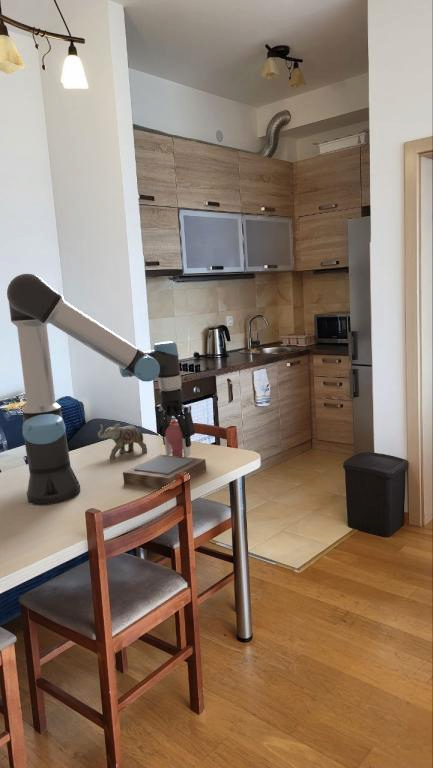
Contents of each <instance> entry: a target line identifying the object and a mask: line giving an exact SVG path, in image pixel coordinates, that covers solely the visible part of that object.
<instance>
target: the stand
mask: <svg viewBox="0 0 433 768" xmlns="http://www.w3.org/2000/svg"><path fill="white" fill-rule="evenodd" d="M206 471H207V463H206V459H205V458H197V457H190V456H187V457H184V456H182V457H180V456H172V455H171V454H170V455H166V454H158V455H155V456H154V457H152V458H150V459H148V460H146V461H144V462H141V463H139V464H137V465H135V466H132V467H131V468H129V469H126V470H124V471H123V472H122V478H123V483H124V484H126V485H132V486H137V487H138V486H139V487H146V488H152V489H160V488H162V487H164V486H166V485H168V484H170V483H172V482H173V481H174V480H175V474H176V473H179V472H186V473H189V475H190V480H192V479H193V477H194V478H195V477H198V476H199V475H200V474H202V473H204V472H206ZM191 478H192V479H191ZM160 490H161V489H160Z"/></svg>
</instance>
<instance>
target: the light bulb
mask: <svg viewBox="0 0 433 768" xmlns="http://www.w3.org/2000/svg"><path fill="white" fill-rule="evenodd" d="M186 434H187V433H186ZM165 436H166V439H167V440H168V442H169V444H170V445H171V447H172V450H173V451H172V454H171V456H180V457H184V452H183V443H182V438H183V437H184V436H183V434H182V431H181V429H180V426H179V424H178V422H175V423H174V422H173V423H170V425H169V426H168V428H167V429H166V432H165Z"/></svg>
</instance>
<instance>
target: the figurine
mask: <svg viewBox="0 0 433 768" xmlns="http://www.w3.org/2000/svg"><path fill="white" fill-rule="evenodd" d="M99 427H100V430H99V431H98V432H97V437H98V438H99V439H110V440H112V441H114V443H115V445H114V447H113V448H112V449H111V453H110V455H109V460H114V459H116V454H117V453H119V454H126V453H130V452H132V451H134V450H135V447H134V443H135V444H138V446H139V447H140V448H141V453H143V454H144V453H147V452H148V447H147V444H146V443H145V442H144V435H143V432H142V431H141V430H139V429H138V428H136V426H134V425H126V426H122V425H121V423H116V424H114V425H113V426H109V427H107V428H106V429H105V430H104V426H103V424H102V423H101V424H100V425H99ZM125 446H127V447H128V450H126V447H125ZM118 451H119V452H118Z"/></svg>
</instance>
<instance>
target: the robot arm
mask: <svg viewBox="0 0 433 768" xmlns="http://www.w3.org/2000/svg"><path fill="white" fill-rule="evenodd" d="M6 297H7V300H8V306H9V307H8V308H9V313H10V322H11V323H12V324H13V325H14V326H16V328H17V337H18V344H19V354H20V361H21V369H22V377H23V386H24V393H25V394H24V395H25V402H26V405H25V406H24V408H23V409H22V411H21V412H22V414H21V415H22V421H23V423H22V433H21V434H22V437H23V440H24V447H25V452H26V453H25V454H26V459H27V464H28V465H27V466H28V471H29V479H28V485H27V486H28V487H27V491H26V499H27V503H29V504H31V505H35V506H49V505H54V504H58V503H62V502H66V501H69V500H71V499H74V498H75V497H77V496H78V495H79V494H80V493H81V487H80V482H79V480H78V478H77V476H76V474H75V472H74V471H73V469H72V466H71V458H70V453H69V446H68V440H67V439H68V438H67V432H66V428H67V427H66V425H65V421H64V419H63V414H62V413H63V412H62V405H60V404H59V403H58V402H57V401H56V395H55V387H54V378H53V370H52V361H51V352H50V344H49V343H50V342H49V335H48V324H51V325H52V326H54V328H57V329H58V330H60V331H62V332H63V333H65V334H66V335H68V336H70V337H72V338H73V339H74V340H76V341H77V342H79V343H81V344H83V345H84V346H86V347H88V348H89V349H90V350H92V351H93V352H96V353H97V354H99V355H101V356H102V357H104V358H105V359H107V360H108V361H110V362H112V363H113V364H115V365H117V366H118V369H119V373H120V375H121V377H123V378H132V377H136V378H137V379H138V380H140V381H141V382H148V383H149V382H152V381H154V380H156V379H157V381H158V383H157V385H158V389H159V398H160V399H159V400H160V401H161V404H158V405H155V406H154V410H155V413H156V434H158V435H161V436H162V442H163V443H162V444H163V445H164V447H165V455H170V456H171V455H172V451H173V450H172V447H171V445H170V444H169V442H168V440H167V439H166V436H165V432H166V429H167V428H168V426H169V425H171V424H172V423H171V421H172V417H174V419H175V420H176V421H177V423H178V424H179V426H180V429H181V431H182V434H183V436H184V437H183V438H182V443H183V457H190V456H191V446H192V441H191V437H192V436H194V435H195V434H196V431H195V427H194V420H193V416H192V406H191V405H188V406H187V405H184V403H183V399H184V394H183V388H182V378H181V371H180V370H181V369H180V361H179V359H180V358H179V356H180V355H179V353H178V352H179V351H178V345H177V343H176V342H175V341H162V342H161V341H160V342H156V343H155V344H154V345H153V349H151V350H145V351H142V350H141V349H139V348H138V347H136V346H135V345H133V344H131V343H130V342H129V341H127V340H126V339H124V338H122V337H121V336H119V335H118V334H116V333H115V332H114V331H111V330H110V329H109V328H107V327H106V326H104V325H102V324H100V322H98V321H96V320H94V319H93V318H92V317H90V316H89V315H87V314H85V313H83V312H82V311H81V310H80V309H78V308H76V307H74V306H73V305H71V304H70V303H69V302H67V301H65V299H64V295H62V294H61V293H59V291H57V290H55V289H54V288H52V286H50V285H49V284H48V283H47V282H46V281H45V280H44V279H42V278H41V277H40V276H38V275H36V274H33V273H22V274H19V275H16V276H15V277H13V279H12V280H10V282H9V284H8V286H7V290H6ZM186 433H187V434H186Z"/></svg>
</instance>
